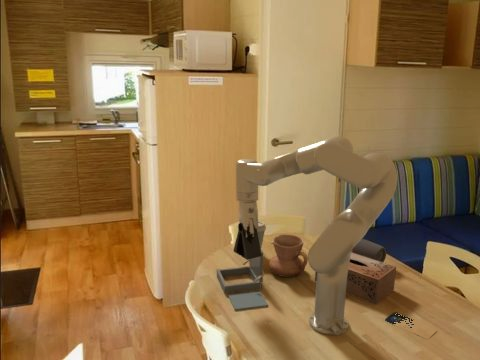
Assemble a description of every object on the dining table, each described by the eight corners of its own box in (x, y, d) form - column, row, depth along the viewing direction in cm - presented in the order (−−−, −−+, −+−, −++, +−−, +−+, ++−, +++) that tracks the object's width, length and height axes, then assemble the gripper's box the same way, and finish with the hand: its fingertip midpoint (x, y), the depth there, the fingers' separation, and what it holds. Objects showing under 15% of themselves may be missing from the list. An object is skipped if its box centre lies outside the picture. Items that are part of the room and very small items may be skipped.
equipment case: (263, 290, 170) (264, 253, 166) (225, 295, 166) (225, 257, 162) (251, 271, 185) (252, 237, 181) (216, 275, 181) (216, 240, 177)
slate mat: (268, 306, 159) (268, 304, 159) (234, 310, 156) (234, 309, 156) (259, 292, 168) (259, 291, 168) (228, 296, 165) (228, 294, 165)
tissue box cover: (393, 290, 171) (396, 266, 169) (375, 305, 161) (378, 279, 158) (334, 269, 188) (336, 247, 185) (314, 281, 178) (316, 258, 175)
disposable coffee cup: (238, 251, 204) (238, 219, 200) (260, 248, 207) (261, 217, 203) (245, 260, 194) (245, 228, 190) (268, 257, 197) (269, 225, 194)
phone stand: (261, 256, 158) (262, 224, 155) (247, 260, 155) (247, 227, 152) (247, 247, 166) (247, 216, 163) (233, 251, 162) (233, 219, 159)
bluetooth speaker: (328, 254, 202) (330, 233, 199) (341, 248, 208) (342, 228, 206) (373, 271, 186) (375, 249, 183) (385, 265, 192) (388, 243, 189)
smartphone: (427, 340, 141) (383, 319, 151) (427, 341, 141) (383, 321, 151) (438, 330, 146) (395, 311, 156) (438, 331, 146) (394, 312, 157)
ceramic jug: (259, 270, 186) (260, 238, 182) (282, 259, 196) (284, 229, 192) (293, 286, 173) (295, 253, 169) (316, 274, 183) (318, 242, 179)
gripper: (264, 201, 148) (264, 253, 153) (251, 188, 163) (252, 236, 168) (242, 203, 146) (242, 255, 151) (231, 189, 162) (232, 238, 166)
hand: (247, 245), depth 159 cm, fingers closed on phone stand, 2 cm apart
